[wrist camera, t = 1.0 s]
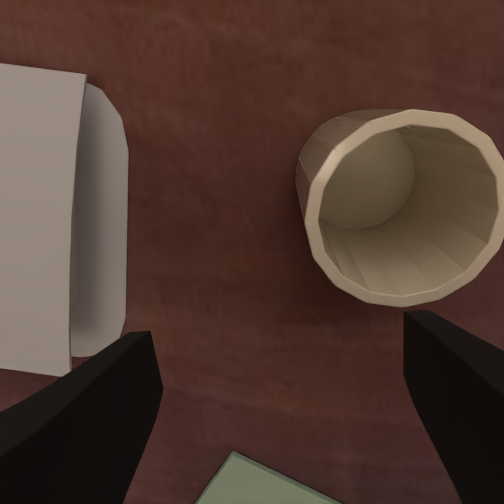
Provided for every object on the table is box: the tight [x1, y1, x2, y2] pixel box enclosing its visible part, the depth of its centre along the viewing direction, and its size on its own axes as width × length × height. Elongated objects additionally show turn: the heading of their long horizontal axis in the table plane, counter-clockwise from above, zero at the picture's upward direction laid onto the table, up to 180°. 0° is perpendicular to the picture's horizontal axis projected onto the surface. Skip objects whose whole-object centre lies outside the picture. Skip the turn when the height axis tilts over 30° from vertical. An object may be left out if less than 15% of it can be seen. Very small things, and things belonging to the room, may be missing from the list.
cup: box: [295, 109, 504, 307], centre depth 15 cm, size 6×6×8 cm
